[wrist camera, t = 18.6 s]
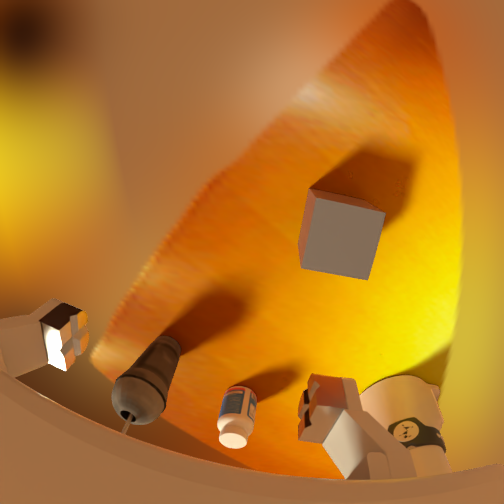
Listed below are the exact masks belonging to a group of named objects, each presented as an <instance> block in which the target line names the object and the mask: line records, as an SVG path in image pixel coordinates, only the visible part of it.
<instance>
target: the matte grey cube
mask: <svg viewBox="0 0 504 504" xmlns="http://www.w3.org/2000/svg"><path fill="white" fill-rule="evenodd" d="M385 215H386V213H385V212H383V211H382V210H380V209H378V208H377V207H375V206H374V205H372V204H370V203H369V202H367V201H365V200H362V199H358V198H354V197H349V196H345V195H340V194H336V193H331V192H326V191H321V190H316V189H312V188H309V191H308V196H307V201H306V206H305V211H304V216H303V221H302V226H301V231H300V236H299V241H298V248H299V256H300V264H301V268H303V269H308V270H314V271H319V272H325V273H330V274H336V275H341V276H347V277H352V278H358V279H363V280H368V278H369V274H370V271H371V267H372V264H373V261H374V257H375V253H376V250H377V246H378V242H379V239H380V235H381V231H382V227H383V223H384V219H385Z"/></svg>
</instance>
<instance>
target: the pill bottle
mask: <svg viewBox="0 0 504 504" xmlns="http://www.w3.org/2000/svg"><path fill="white" fill-rule="evenodd" d="M256 404H257V397H256V394H255V393H254V392H253V391H252V390H251V389H249V388H247V387H244V386H234V387H231V388H229V389H228V390H227V391H226V392H225V394H224V398H223V402H222V406H221V410H220V414H219V419H218V424H217V425H218V429H219V430H220V436H219V440H220V442H221V443H222V444H223V445H224V446H226V447H229V448H242V447H244V446H245V445H246V444H247V439H248V436H249V435H250V434H251V433H252V431H253V428H254V421H255V412H256Z"/></svg>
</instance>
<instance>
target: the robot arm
mask: <svg viewBox="0 0 504 504" xmlns="http://www.w3.org/2000/svg"><path fill="white" fill-rule="evenodd" d="M87 321H88V319H87V314H86V312H85V311H83V310H81V309H79V308H76V307H74V306H72V305H69V304H67V303H64V302H62V301H59V300H57V299H51V300H49V301H48V302H47V303H45V304H44V305H42V306H41V307H40V308H38V309H37V310H36V311H34V312H33V313H31V314H30V315H29V316H27V315H22V316H16V317H11V318H5V319H0V504H504V465H502V464H493V465H488V466H484V467H479V468H474V469H470V470H464V471H459V472H452V470H451V468H450V465H449V463H448V460H447V458H446V455H445V452H446V448H445V445H444V444H445V443H444V440H443V437H442V436H441V434H440V432H439V431H440V429H441V427H442V424H443V422H444V421H443V417H442V414H441V411H440V409H439V406H438V403H437V400H438V397H439V394H440V389H439V386H437V385H432V384H427V383H426V382H424V381H423V380H422V379H420V378H418V377H416V376H411V375H400V376H394V377H390V378H387V379H384V380H382V381H380V382H378V383H376V384H374V385H372V386H371V387H369V388H368V389H366V390H365V391H364V392H363V393H362V394H361V395H360V396H359V393H358V389H357V385H356V381H355V380H354V379H352V378H343V377H340V378H339V377H333V376H326V375H320V374H314V373H312V374H311V376H310V378H309V380H308V389H306V390H304V391H303V394H302V396H301V399H300V403H299V408H298V417H299V418H300V419H301V421H300V423H299V425H298V440H300V441H307V442H314V443H322V445H323V447H324V448H325V450H326V451H327V453H328V454H329V455H330V457H331V458H332V460H333V461H334V463H335V464H336V466H337V467H338V469H339V470H340V471H341V473H342V474H343V476H344V477H345V479H346V480H343V479H322V478H309V477H298V476H289V475H281V474H273V473H267V472H260V471H254V470H248V469H243V468H238V467H233V466H228V465H223V464H219V463H215V462H211V461H206V460H202V459H199V458H195V457H191V456H187V455H184V454H181V453H177V452H174V451H171V450H167V449H164V448H161V447H158V446H155V445H152V444H149V443H146V442H144V441H141V440H138V439H135V438H133V437H130V436H127V435H125V434H122V433H120V432H117V431H115V430H112V429H110V428H108V427H105V426H103V425H101V424H98V423H96V422H94V421H92V420H90V419H87V418H85V417H83V416H81V415H79V414H77V413H75V412H73V411H71V410H69V409H67V408H65V407H63V406H61V405H59V404H57V403H56V402H54V401H52V400H50V399H48V398H46V397H45V396H43V395H41V394H39V393H38V392H36V391H34V390H33V389H31V388H29V387H28V386H26V385H24V384H23V383H21V382H20V381H18V380H16V379H15V378H14V377H17V376H19V375H22V374H24V373H27V372H29V371H32V370H34V369H37V368H39V367H42V366H44V365H47V364H48V363H50V364H52V365H55V366H56V367H59V368H61V369H63V370H65V371H67V369H68V368H69V367H70V366H71V365H72V364H73V363H74V362H75V356H76V355H80V354H82V353H83V352H84V350H85V349H86V347H87V344H88V340H89V331H88V330H87V328H86V326H85V324H86V323H87Z"/></svg>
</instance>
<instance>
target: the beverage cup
mask: <svg viewBox="0 0 504 504" xmlns="http://www.w3.org/2000/svg"><path fill="white" fill-rule="evenodd" d="M180 354H181V347H180V345H179V343H178V342H177V341H176V340H175V339H173V338H171V337H169V336H159V337H157V338H156V339H155V341H153V342H152V343H151V344H150V345H149V347H148V348H147V349H146V350H145V351H144V352H143V353H142V355H141V356H140V357H139V358H138V359H137V360H136V361H135V363H134V364H133V365H132V366H131V367H130V368H129V369H128V370H127V371H126V372H124V373H123V374H122V375H121V376H119V377H118V378H117V379H116V382H115V385H114V388H113V391H112V402H113V406H114V408H115V410H116V412H117V414H118V415H119V416H120V417H121V418H122V419H124V420H125V421H126V423H125V426H124V428H123V430H122V432H121V433H122V434H126V431H127V429H128V427H129V424H130V423H132V424H136V425H142V424H148V423H150V422H152V421H154V420H155V419H157V418H158V417H159V416H160V414H161V413H162V412H163V411H164V409H165V408H166V402H167V396H168V390H169V387H170V384H171V381H172V378H173V376H174V373H175V370H176V367H177V364H178V361H179V357H180Z"/></svg>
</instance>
